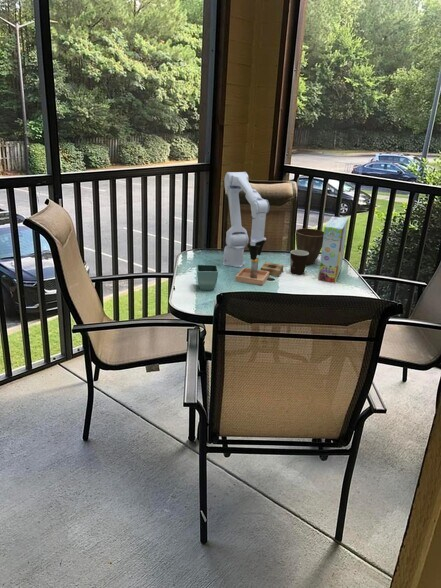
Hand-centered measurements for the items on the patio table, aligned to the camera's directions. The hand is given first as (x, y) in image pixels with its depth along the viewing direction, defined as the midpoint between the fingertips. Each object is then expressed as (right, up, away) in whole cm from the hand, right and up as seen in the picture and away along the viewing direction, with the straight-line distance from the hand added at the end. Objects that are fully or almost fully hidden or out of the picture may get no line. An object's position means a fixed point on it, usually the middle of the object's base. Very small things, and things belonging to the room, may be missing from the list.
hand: (255, 257), depth 206 cm
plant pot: (+28, -1, +28) cm, 40 cm away
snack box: (+36, -8, +13) cm, 39 cm away
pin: (-1, -9, +2) cm, 9 cm away
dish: (-1, -10, +2) cm, 10 cm away
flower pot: (-22, -14, -11) cm, 28 cm away
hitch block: (+8, -6, +11) cm, 16 cm away
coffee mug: (+21, -6, +15) cm, 26 cm away
